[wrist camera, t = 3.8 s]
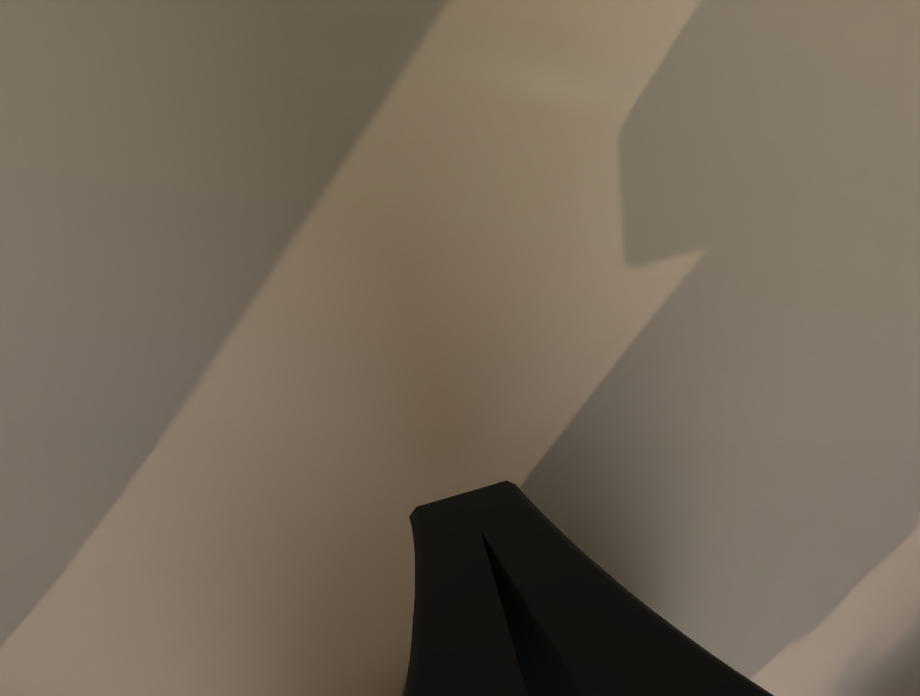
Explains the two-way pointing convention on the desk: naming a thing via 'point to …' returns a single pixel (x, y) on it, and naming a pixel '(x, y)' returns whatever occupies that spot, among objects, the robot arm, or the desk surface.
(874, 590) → the desk surface
